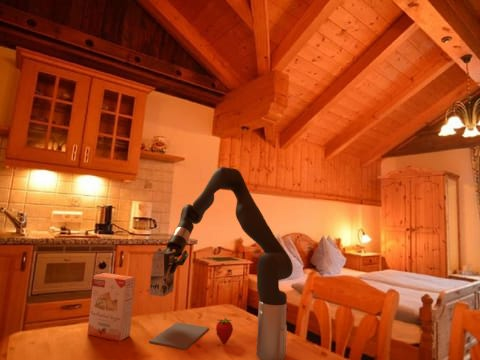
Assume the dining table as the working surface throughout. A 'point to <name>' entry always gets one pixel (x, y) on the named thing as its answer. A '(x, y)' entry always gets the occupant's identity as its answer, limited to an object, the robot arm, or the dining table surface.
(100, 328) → the cracker box
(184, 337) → the slate mat
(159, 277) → the coffee box
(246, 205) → the robot arm
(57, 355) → the dining table surface
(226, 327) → the strawberry
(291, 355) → the dining table surface
